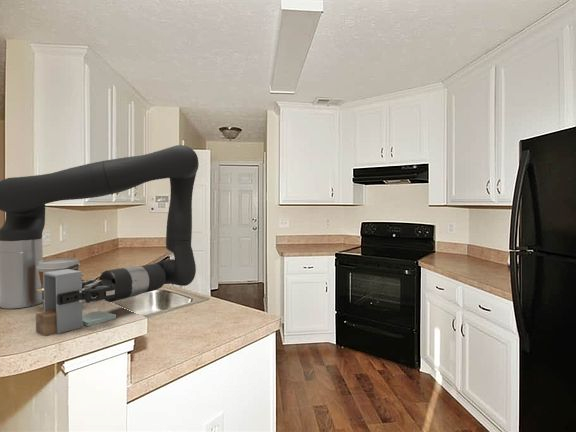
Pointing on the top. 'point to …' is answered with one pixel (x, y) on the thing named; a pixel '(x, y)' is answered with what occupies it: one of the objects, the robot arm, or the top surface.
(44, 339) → the top surface
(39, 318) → the block
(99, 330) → the top surface
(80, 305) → the cover
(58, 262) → the disposable coffee cup
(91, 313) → the slab
